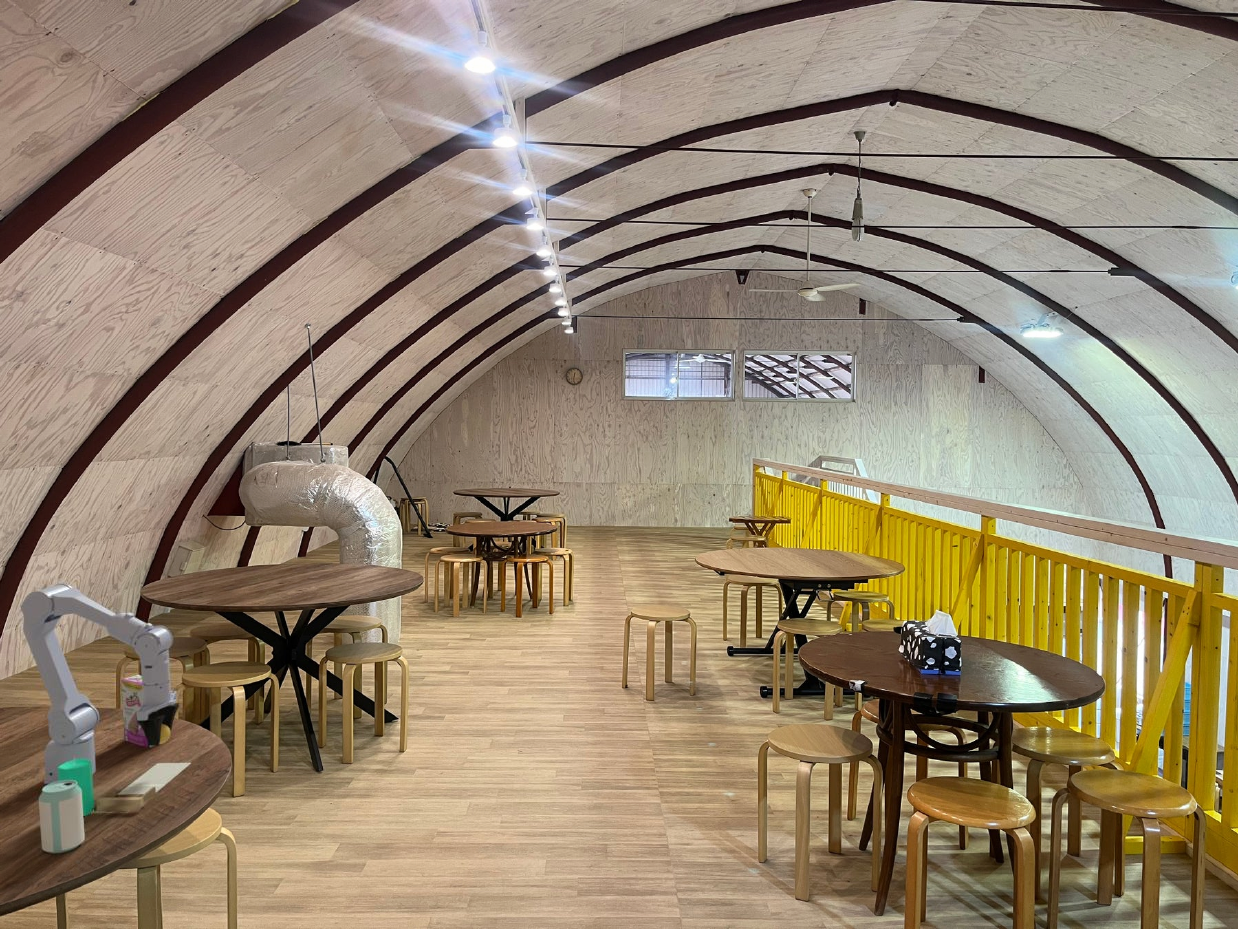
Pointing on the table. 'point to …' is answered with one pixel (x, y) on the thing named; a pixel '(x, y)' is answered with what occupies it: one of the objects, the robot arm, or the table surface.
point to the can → (61, 816)
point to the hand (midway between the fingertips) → (159, 740)
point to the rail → (123, 801)
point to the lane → (155, 778)
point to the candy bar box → (132, 709)
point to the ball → (164, 733)
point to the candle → (80, 780)
